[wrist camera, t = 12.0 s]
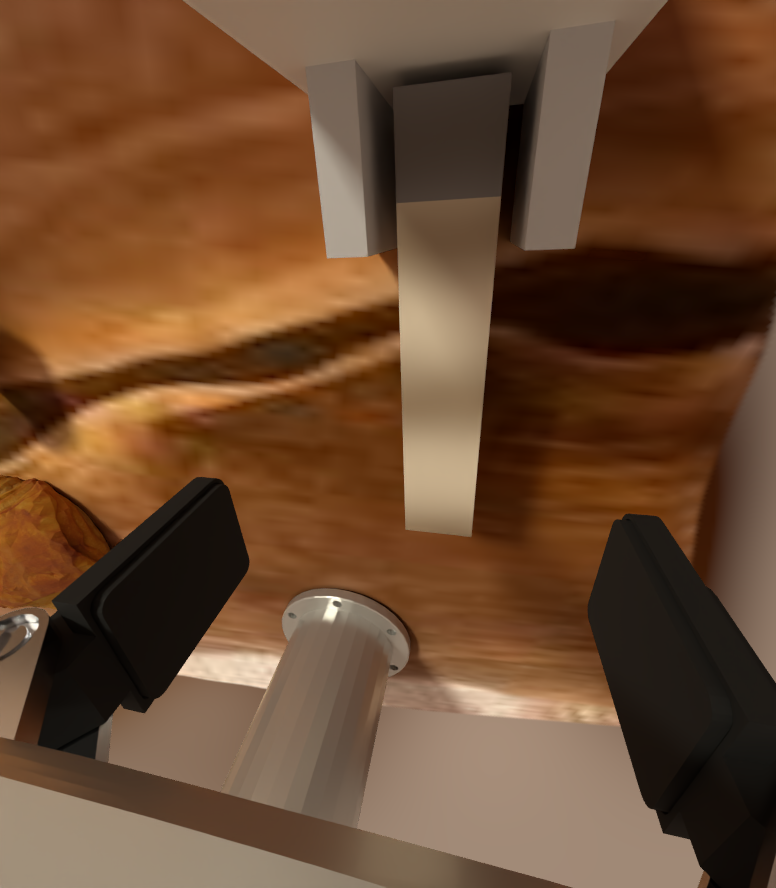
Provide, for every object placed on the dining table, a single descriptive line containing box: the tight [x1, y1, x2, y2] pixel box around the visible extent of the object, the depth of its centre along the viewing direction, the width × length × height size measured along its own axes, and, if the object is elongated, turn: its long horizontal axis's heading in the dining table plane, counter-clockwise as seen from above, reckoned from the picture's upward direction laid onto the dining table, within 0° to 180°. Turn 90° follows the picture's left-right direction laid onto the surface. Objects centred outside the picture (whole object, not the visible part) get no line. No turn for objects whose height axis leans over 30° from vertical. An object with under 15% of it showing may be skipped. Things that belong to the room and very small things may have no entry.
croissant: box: [0, 475, 110, 609], centre depth 36 cm, size 14×16×8 cm
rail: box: [393, 72, 512, 537], centre depth 18 cm, size 18×4×6 cm, turn 3°
